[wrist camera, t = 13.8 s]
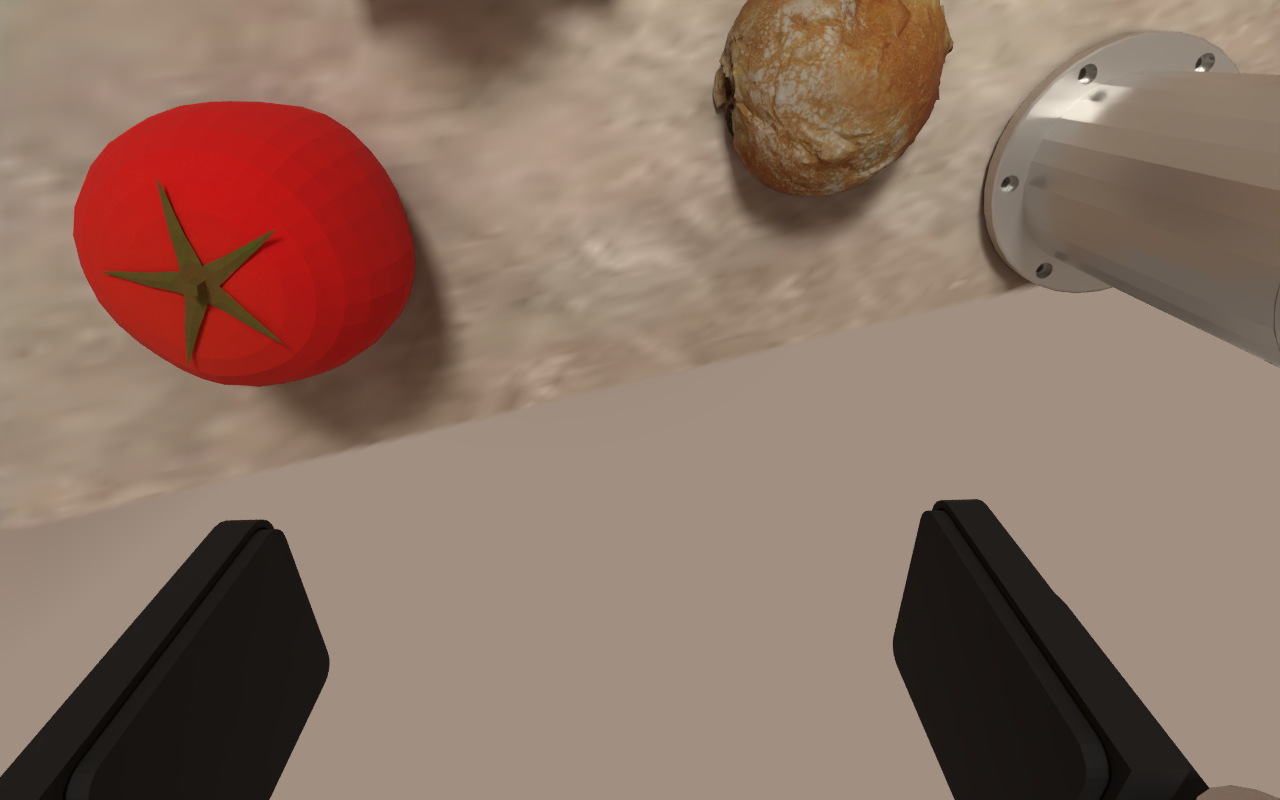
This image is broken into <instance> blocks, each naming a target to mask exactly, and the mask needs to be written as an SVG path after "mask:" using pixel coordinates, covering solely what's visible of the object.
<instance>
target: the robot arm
mask: <svg viewBox="0 0 1280 800" xmlns="http://www.w3.org/2000/svg"><path fill="white" fill-rule="evenodd" d="M1079 72H1080V75H1079ZM1078 75H1079V77H1078ZM1004 179H1005V182H1004V183H1003V184H1002V182H1003V180H1004ZM1001 184H1002V185H1001ZM984 214H985V220H986V226H987V231H988V234H989V236H990V239H991V241H992V243H993V246H994V248H995V250H996V251H997V253H998V254H999V255H1000V257H1001V258H1002V259H1003V261H1004V262H1005V263H1006V265H1008V266H1009V267H1010V268H1011V269H1013V270H1014V271H1015V272H1016V273H1018V274H1019V275H1020V276H1022V277H1023V278H1025V279H1027V280H1029V281H1030V282H1032V283H1034V284H1036V285H1039V286H1042V287H1045V288H1048V289H1051V290H1054V291H1061V292H1071V293H1081V292H1093V291H1100V290H1104V289H1108V288H1112V287H1114V288H1117V289H1118V290H1121V291H1123V292H1125V293H1127V294H1129V295H1131V296H1133V297H1135V298H1137V299H1139V300H1141V301H1143V302H1145V303H1147V304H1149V305H1151V306H1154V307H1156V308H1158V309H1160V310H1162V311H1164V312H1166V313H1168V314H1170V315H1172V316H1174V317H1176V318H1178V319H1180V320H1182V321H1184V322H1186V323H1188V324H1191V325H1193V326H1195V327H1197V328H1199V329H1201V330H1203V331H1205V332H1207V333H1209V334H1211V335H1213V336H1215V337H1217V338H1220V339H1221V340H1224V341H1226V342H1228V343H1230V344H1232V345H1234V346H1236V347H1238V348H1240V349H1242V350H1244V351H1246V352H1248V353H1250V354H1252V355H1255V356H1257V357H1259V358H1261V359H1263V360H1265V361H1267V362H1269V363H1271V364H1273V365H1275V366H1278V367H1280V75H1268V74H1247V73H1240V72H1239V70H1238V68H1237V66H1236V65H1235V63H1234V62H1233V61H1232V60H1231V59H1230V58H1229V57H1228V56H1227V55H1226V54H1225V53H1224V51H1223V50H1222V49H1220V48H1219V47H1217V46H1215V45H1214V44H1212V43H1210V42H1209V41H1207V40H1205V39H1203V38H1201V37H1197V36H1194V35H1190V34H1186V33H1182V32H1167V31H1152V32H1141V33H1130V34H1126V35H1123V36H1119V37H1116V38H1113V39H1109V40H1106V41H1103V42H1101V43H1099V44H1097V45H1095V46H1093V47H1091V48H1089V49H1087V50H1085V51H1083V52H1081V53H1079V54H1077V55H1075V56H1074V57H1073V58H1071V59H1070V60H1068V61H1067V62H1066V63H1064V64H1063V65H1061V66H1060V67H1059V68H1057V69H1056V70H1054V71H1053V72H1052V73H1051V74H1050V75H1049V76H1048V77H1047V78H1046V79H1045V80H1043V81H1042V82H1041V83H1040V84H1039V85H1038V86H1037V87H1036V88H1035V89H1034V90H1033V91H1032V92H1031V93H1030V94H1029V96H1028V97H1027V98H1026V100H1025V101H1024V102H1023V103H1022V105H1021V106H1020V107H1019V108H1018V110H1017V111H1016V112H1015V114H1014V115H1013V117H1012V118H1011V120H1010V122H1009V123H1008V125H1007V127H1006V129H1005V130H1004V132H1003V134H1002V136H1001V137H1000V139H999V141H998V144H997V147H996V149H995V152H994V154H993V157H992V159H991V162H990V165H989V170H988V174H987V179H986V184H985V189H984ZM893 652H894V657H895V661H896V664H897V667H898V669H899V671H900V674H901V676H902V678H903V680H904V683H905V685H906V688H907V690H908V692H909V695H910V697H911V699H912V701H913V703H914V706H915V709H916V711H917V713H918V716H919V718H920V720H921V722H922V725H923V727H924V730H925V732H926V734H927V737H928V738H929V741H930V743H931V746H932V748H933V750H934V753H935V755H936V757H937V760H938V762H939V764H940V767H941V769H942V771H943V773H944V776H945V778H946V781H947V783H948V785H949V788H950V790H951V792H952V795H953V797H954V799H955V800H1280V799H1279V798H1277V797H1274V796H1271V795H1269V794H1266V793H1264V792H1261V791H1258V790H1255V789H1250V788H1243V787H1238V786H1232V785H1229V786H1222V787H1213V788H1209V787H1208V786H1207V785H1206V783H1205V782H1204V781H1203V779H1202V778H1201V777H1200V776H1199V774H1198V773H1197V772H1196V771H1195V770H1194V768H1193V767H1192V765H1191V764H1190V763H1189V761H1188V760H1187V759H1186V758H1185V757H1184V755H1183V754H1182V753H1181V751H1180V750H1179V749H1178V747H1177V746H1176V745H1175V744H1174V742H1173V741H1172V740H1171V739H1170V737H1169V736H1168V734H1167V733H1166V732H1165V731H1164V729H1163V728H1162V727H1161V725H1160V724H1159V723H1158V722H1157V720H1156V719H1155V718H1154V717H1153V715H1152V714H1151V713H1150V711H1149V710H1148V709H1147V707H1146V706H1145V705H1144V704H1143V702H1142V701H1141V700H1140V698H1139V697H1138V696H1137V695H1136V693H1135V692H1134V691H1133V689H1132V688H1131V687H1130V686H1129V685H1128V683H1127V682H1126V681H1125V679H1124V678H1123V677H1122V676H1121V674H1120V673H1119V672H1118V670H1117V669H1116V668H1115V666H1114V665H1113V664H1112V663H1111V661H1110V660H1109V659H1108V657H1107V656H1106V655H1105V654H1104V652H1103V651H1102V650H1101V648H1100V647H1099V646H1098V645H1097V643H1096V642H1095V641H1094V639H1093V638H1092V637H1091V636H1090V634H1089V633H1088V632H1087V630H1086V629H1085V628H1084V627H1083V625H1082V624H1081V623H1080V621H1079V620H1078V619H1077V618H1076V616H1075V615H1074V614H1073V612H1072V611H1071V610H1070V609H1069V607H1068V606H1067V605H1066V604H1065V603H1064V602H1063V601H1062V600H1061V599H1060V598H1059V597H1058V595H1056V594H1055V593H1054V592H1053V590H1052V589H1051V588H1050V587H1049V585H1048V584H1047V583H1046V581H1045V580H1044V579H1043V577H1042V576H1041V575H1040V573H1039V572H1038V571H1037V570H1036V568H1035V567H1034V566H1033V565H1032V563H1031V562H1030V561H1029V559H1028V558H1027V557H1026V555H1025V554H1024V553H1023V552H1022V550H1021V549H1020V548H1019V546H1018V545H1017V544H1016V542H1015V541H1014V540H1013V539H1012V537H1011V536H1010V535H1009V534H1008V532H1007V531H1006V529H1005V528H1004V527H1003V526H1002V524H1001V523H1000V522H999V521H998V519H997V518H996V517H995V515H994V514H993V513H992V511H991V510H990V509H989V508H988V506H987V505H986V504H985V503H984V502H983V501H981V500H978V499H972V500H971V499H970V500H941V501H937V502H936V503H935V505H934V506H933V509H932V511H925V512H924V513H923V514H922V517H921V519H920V524H919V528H918V532H917V537H916V541H915V546H914V550H913V554H912V558H911V563H910V567H909V571H908V576H907V580H906V585H905V589H904V593H903V598H902V602H901V606H900V611H899V615H898V620H897V624H896V628H895V632H894V637H893ZM328 672H329V655H328V652H327V649H326V646H325V643H324V640H323V638H322V635H321V632H320V630H319V627H318V624H317V621H316V619H315V616H314V613H313V611H312V608H311V605H310V603H309V600H308V597H307V594H306V591H305V589H304V586H303V583H302V581H301V578H300V575H299V572H298V570H297V567H296V564H295V561H294V559H293V556H292V553H291V551H290V548H289V545H288V543H287V540H286V537H285V535H284V533H283V532H282V531H281V530H278V529H274V528H273V526H272V524H271V523H270V522H269V521H267V520H231V521H224V522H220V523H219V524H218V525H217V526H215V527H214V528H213V530H212V531H211V532H210V533H209V534H208V535H207V537H206V538H205V539H204V540H203V541H202V542H201V544H200V545H199V546H198V547H197V548H196V549H195V551H194V552H193V553H192V554H191V556H189V558H188V559H187V560H186V561H185V562H184V563H183V565H182V566H181V567H180V568H179V569H178V570H177V572H176V573H175V574H174V575H173V576H172V577H171V579H170V580H169V581H168V582H167V583H166V585H165V586H164V587H163V588H162V589H161V590H160V591H159V593H158V594H157V595H156V596H155V597H154V598H153V600H152V601H151V602H150V603H149V604H148V605H147V607H146V608H145V609H144V610H143V611H142V612H141V614H140V615H139V616H138V617H137V618H136V619H135V621H134V622H133V623H132V624H131V625H130V626H129V628H128V629H127V630H126V631H125V632H124V633H123V635H122V636H121V637H120V638H119V639H118V641H117V642H116V643H115V644H114V645H113V646H112V648H111V649H110V650H109V651H108V652H107V653H106V655H105V656H104V657H103V658H102V659H101V660H100V661H99V663H98V664H97V665H96V666H95V667H94V669H93V670H92V671H91V672H90V673H89V674H88V675H87V677H86V678H85V679H84V680H83V681H82V682H81V684H80V685H79V686H78V687H77V688H76V689H75V691H74V692H73V693H72V694H71V695H70V696H69V698H68V699H67V700H66V701H65V702H64V703H63V705H62V706H61V707H60V708H59V709H58V710H57V712H56V713H55V714H54V715H53V716H52V717H51V719H50V720H49V721H48V722H47V723H46V725H45V726H44V727H43V728H42V729H41V730H40V732H39V733H38V734H37V735H36V736H35V737H34V738H33V740H32V741H31V742H30V743H29V744H28V745H27V747H26V748H25V749H24V750H23V751H22V752H21V754H20V755H19V756H18V757H17V758H16V759H15V761H14V762H13V763H12V764H11V765H10V767H9V768H8V769H7V770H6V771H5V772H4V773H3V775H2V776H1V777H0V800H269V799H270V797H271V795H272V793H273V791H274V789H275V786H276V785H277V782H278V780H279V778H280V776H281V774H282V772H283V770H284V768H285V766H286V764H287V761H288V759H289V757H290V755H291V753H292V751H293V749H294V747H295V745H296V742H297V740H298V738H299V736H300V734H301V732H302V730H303V727H304V726H305V724H306V722H307V719H308V717H309V715H310V713H311V711H312V709H313V707H314V705H315V703H316V700H317V698H318V696H319V694H320V692H321V690H322V688H323V686H324V684H325V682H326V679H327V676H328Z"/></svg>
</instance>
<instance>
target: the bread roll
mask: <svg viewBox="0 0 1280 800" xmlns="http://www.w3.org/2000/svg"><path fill="white" fill-rule="evenodd" d="M952 49H953V41H952V39H951V37H950V33H949V29H948V26H947V23H946V20H945V15H944V5H943V6H940V0H748V1H747V2H746V3H745V5H744V6H743V7H742V9H741V11H740V13H739V15H738V17H737V18H736V20H735V22H734V25H733V26H732V28H731V30H730V32H729V33H728V37H727V41H726V45H725V49H724V51H723V53H722V56H721V58H720V61H719V62H720V64H721V66H722V67H721V68H720V69H719V70H718V71H717V73H716V75H715V84H714V88H713V97H714V100H715V104H716V107H717V109H718V108H722V107H725V112H726V120H727V125H728V129H729V132H730V133H731V136H732V143H733V146H734V148H735V150H736V153H737V155H738V156H739V158H740V159H741V161H742V163H743V164H744V166H745V167H746V169H747V170H748V171H749V172H750V174H751V175H752V176H753V177H754V178H755V179H757V180H758V181H760V182H761V183H763V184H764V185H766V186H767V187H769V188H772V189H774V190H776V191H779V192H782V193H786V194H790V195H796V196H825V195H832V194H836V193H839V192H842V191H845V190H848V189H851V188H853V187H855V186H856V185H858V184H860V183H862V182H865V181H867V180H868V179H869V178H871V177H872V176H874V175H875V174H876V173H878V172H879V171H880V170H881V169H883V168H885V167H886V166H887V165H889V164H891V163H892V162H894V161H895V160H896V159H898V158H899V157H900V156H901V155H902V154H903V153H904V151H905V150H906V149H907V147H908V146H909V145H911V144H912V143H913V142H914V140H915V138H916V136H917V134H918V133H919V132H920V130H921V129H922V127H923V126H924V124H925V123H926V121H927V120H928V118H929V117H930V114H931V112H932V110H933V108H934V104H935V102H936V100H939V85H940V77H941V73H942V68H943V64H944V63H945V57H946V55H947V54H948V53H949V52H951V51H952Z"/></svg>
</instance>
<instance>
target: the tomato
mask: <svg viewBox="0 0 1280 800" xmlns="http://www.w3.org/2000/svg"><path fill="white" fill-rule="evenodd" d="M73 236H74V240H75V244H76V248H77V252H78V256H79V260H80V264H81V267H82V269H83V271H84V274H85V276H86V278H87V280H88V282H89V284H90V286H91V288H92V289H93V291H94V293H95V295H96V297H97V299H98V301H99V303H100V304H101V305H102V306H103V307H104V309H105V310H106V311H107V312H108V313H109V314H110V316H111V317H112V318H113V319H114V320H115V321H116V323H117V324H118V325H119V326H120V327H122V328H123V329H124V330H125V331H126V332H127V333H129V334H130V335H131V336H132V337H133V338H134V339H136V340H137V341H138V342H139V343H141V344H142V345H143V346H145V347H146V348H148V349H149V350H151V351H152V352H154V353H155V354H157V355H158V356H160V357H161V358H163V359H164V360H166V361H168V362H170V363H171V364H173V365H175V366H176V367H178V368H180V369H182V370H184V371H186V372H188V373H190V374H193V375H195V376H197V377H200V378H202V379H205V380H209V381H212V382H216V383H220V384H224V385H245V386H259V387H260V386H268V385H275V384H283V383H287V382H291V381H296V380H300V379H304V378H307V377H311V376H314V375H318V374H321V373H324V372H326V371H328V370H331V369H333V368H336V367H338V366H340V365H343V364H344V363H346V362H348V361H349V360H351V359H352V358H354V357H355V356H357V355H358V354H360V353H361V352H363V351H364V350H365V349H367V348H368V347H370V346H371V345H373V344H374V343H376V342H377V341H378V340H379V338H380V337H381V336H382V335H383V334H384V333H385V332H386V330H387V329H388V328H389V327H390V326H391V325H392V324H393V322H394V321H395V320H396V319H397V318H398V316H399V315H400V314H401V312H402V310H403V308H404V306H405V304H406V302H407V300H408V298H409V296H410V292H411V288H412V283H413V277H414V270H415V255H414V247H413V239H412V236H411V232H410V229H409V225H408V222H407V218H406V215H405V212H404V209H403V206H402V204H401V201H400V198H399V196H398V193H397V190H396V188H395V187H394V185H393V183H392V181H391V180H390V178H389V176H388V174H387V173H386V171H385V169H384V168H383V167H382V165H381V164H380V163H379V161H378V160H377V159H376V157H375V156H374V155H373V153H372V152H371V151H370V150H369V149H368V148H367V147H366V146H365V145H364V144H363V143H362V142H361V141H360V140H359V139H358V138H357V137H356V136H355V135H354V134H353V133H352V132H351V131H350V130H349V129H347V128H346V127H344V126H343V125H341V124H340V123H338V122H336V121H335V120H333V119H332V118H330V117H329V116H327V115H325V114H322V113H319V112H316V111H313V110H310V109H307V108H304V107H298V106H290V105H282V104H274V103H265V102H239V101H225V102H206V103H199V104H191V105H184V106H179V107H176V108H173V109H170V110H167V111H165V112H162V113H159V114H156V115H154V116H151V117H149V118H147V119H145V120H144V121H142V122H140V123H139V124H137V125H135V126H134V127H132V128H131V129H129V130H128V131H126V132H125V133H123V134H122V135H120V136H119V137H117V138H116V139H114V140H113V141H112V142H110V143H109V144H108V145H107V146H106V147H105V149H104V150H103V151H102V152H101V153H100V155H99V156H98V157H97V158H96V160H95V161H94V162H93V163H92V165H91V166H90V169H89V171H88V174H87V176H86V179H85V181H84V184H83V186H82V189H81V191H80V194H79V197H78V199H77V202H76V205H75V209H74V230H73Z"/></svg>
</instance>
